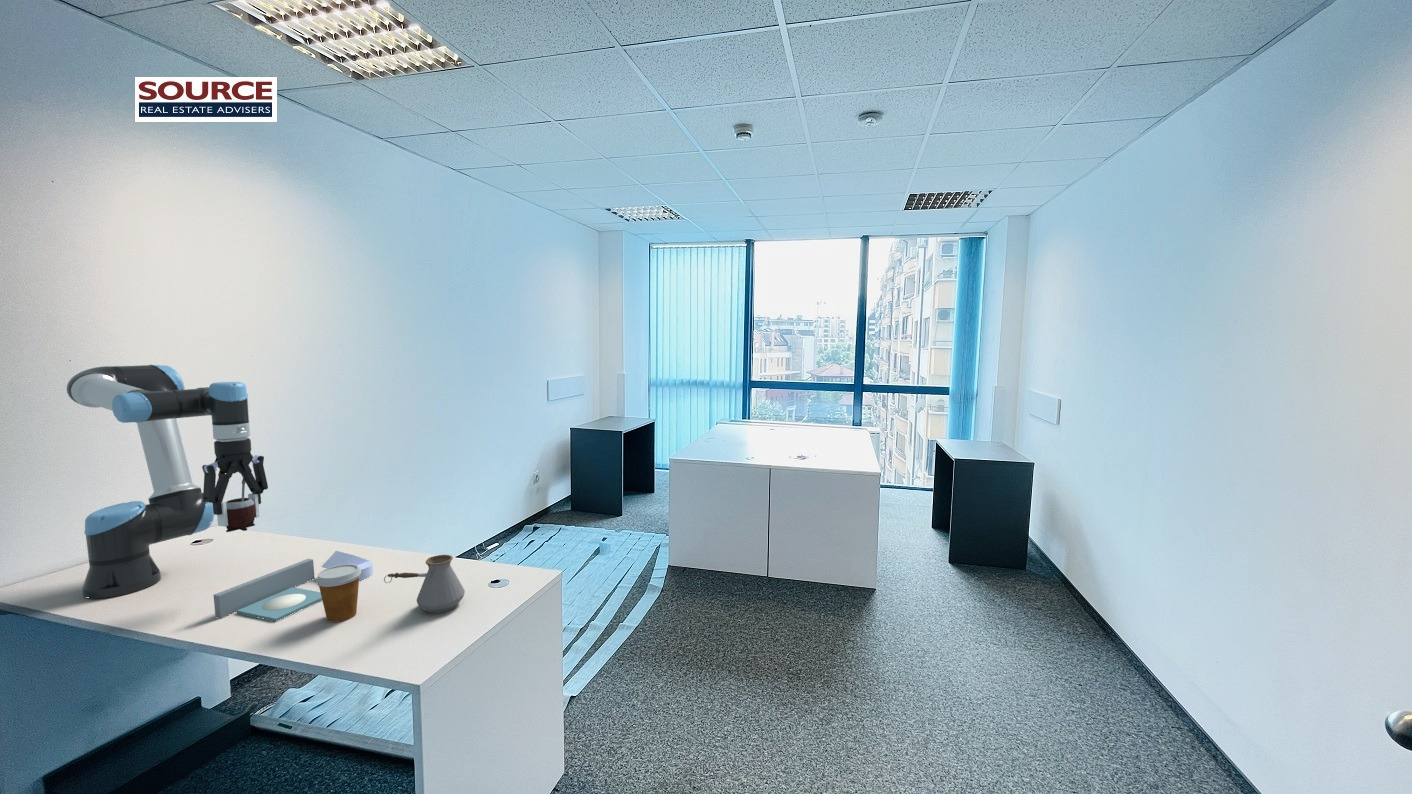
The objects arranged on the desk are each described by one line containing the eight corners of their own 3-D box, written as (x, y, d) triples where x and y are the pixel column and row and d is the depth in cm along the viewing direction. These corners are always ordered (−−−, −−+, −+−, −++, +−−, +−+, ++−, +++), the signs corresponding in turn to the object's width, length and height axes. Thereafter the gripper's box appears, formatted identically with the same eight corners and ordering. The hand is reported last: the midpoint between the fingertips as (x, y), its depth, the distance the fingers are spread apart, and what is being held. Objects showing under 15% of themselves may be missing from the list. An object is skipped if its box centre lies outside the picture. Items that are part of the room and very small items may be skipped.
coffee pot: (441, 593, 150) (439, 541, 148) (474, 599, 146) (472, 546, 145) (371, 631, 130) (368, 572, 128) (408, 640, 126) (404, 578, 125)
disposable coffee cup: (329, 629, 131) (326, 582, 129) (311, 619, 136) (308, 573, 134) (371, 613, 139) (368, 568, 137) (352, 603, 144) (349, 560, 143)
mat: (237, 613, 138) (236, 610, 138) (292, 589, 152) (292, 586, 152) (276, 621, 134) (275, 618, 134) (330, 596, 148) (329, 593, 148)
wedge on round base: (321, 577, 160) (349, 586, 154) (320, 555, 159) (347, 563, 154) (352, 566, 168) (379, 573, 162) (351, 545, 167) (378, 552, 162)
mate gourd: (230, 534, 144) (225, 480, 142) (217, 529, 147) (212, 476, 146) (264, 526, 150) (259, 474, 148) (251, 521, 154) (246, 470, 152)
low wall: (215, 617, 136) (213, 594, 136) (309, 578, 159) (308, 558, 159) (220, 618, 136) (218, 595, 135) (314, 579, 159) (313, 559, 158)
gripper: (197, 446, 135) (205, 534, 138) (280, 433, 154) (286, 511, 157) (177, 444, 138) (186, 531, 140) (262, 432, 157) (268, 509, 159)
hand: (239, 520), depth 148 cm, fingers closed on mate gourd, 7 cm apart
